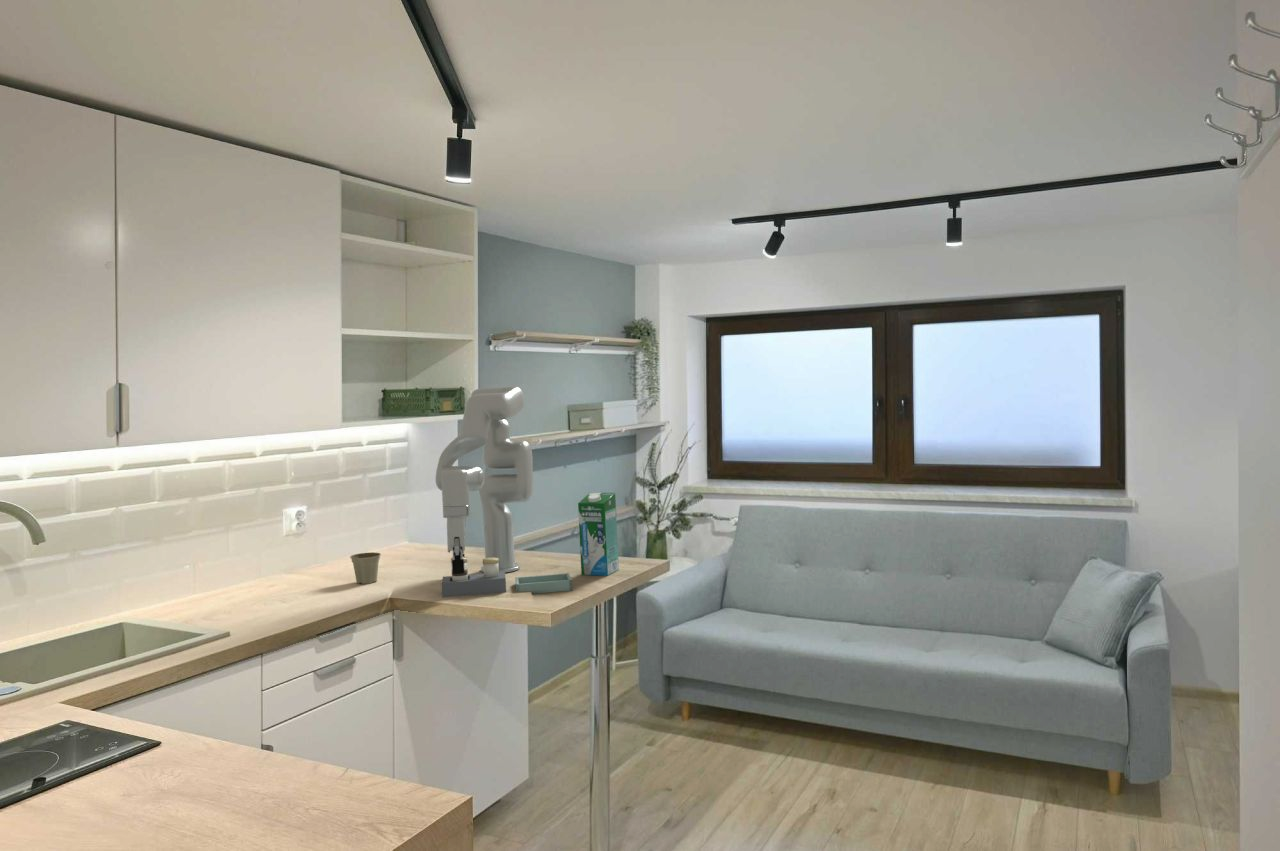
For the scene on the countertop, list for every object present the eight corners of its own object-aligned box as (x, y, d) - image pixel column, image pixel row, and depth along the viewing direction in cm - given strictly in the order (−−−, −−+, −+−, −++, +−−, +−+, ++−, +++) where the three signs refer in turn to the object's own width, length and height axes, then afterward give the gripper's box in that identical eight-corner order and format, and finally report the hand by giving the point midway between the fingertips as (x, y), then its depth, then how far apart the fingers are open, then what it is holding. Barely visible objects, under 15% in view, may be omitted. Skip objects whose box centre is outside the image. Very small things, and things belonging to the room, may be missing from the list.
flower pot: (388, 581, 282) (386, 554, 282) (361, 586, 275) (359, 559, 275) (372, 577, 288) (371, 551, 288) (345, 583, 281) (344, 556, 281)
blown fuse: (452, 591, 259) (451, 557, 259) (468, 589, 260) (467, 556, 259) (452, 594, 255) (450, 560, 254) (468, 593, 255) (466, 558, 255)
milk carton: (581, 574, 279) (577, 495, 278) (593, 568, 287) (589, 492, 286) (607, 575, 275) (603, 495, 274) (618, 569, 284) (615, 492, 283)
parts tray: (515, 587, 265) (515, 577, 265) (569, 583, 268) (568, 573, 268) (517, 594, 255) (516, 584, 255) (572, 590, 258) (571, 580, 258)
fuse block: (443, 593, 261) (442, 559, 260) (505, 588, 264) (504, 555, 263) (442, 600, 252) (440, 565, 252) (506, 595, 255) (504, 561, 255)
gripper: (444, 508, 264) (447, 566, 264) (441, 516, 247) (444, 577, 247) (469, 507, 265) (472, 564, 266) (468, 514, 248) (471, 575, 249)
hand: (458, 570), depth 257 cm, fingers open, 9 cm apart
